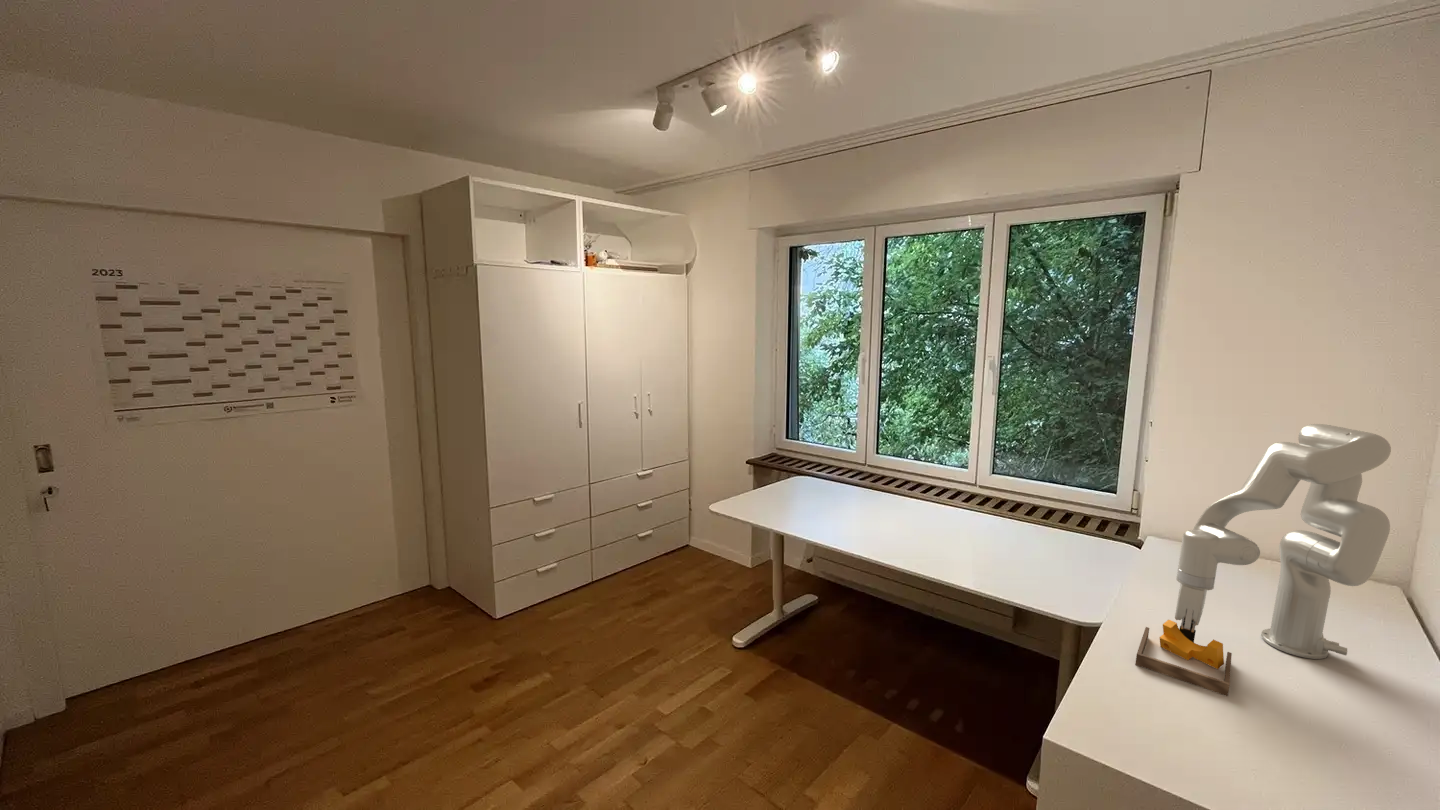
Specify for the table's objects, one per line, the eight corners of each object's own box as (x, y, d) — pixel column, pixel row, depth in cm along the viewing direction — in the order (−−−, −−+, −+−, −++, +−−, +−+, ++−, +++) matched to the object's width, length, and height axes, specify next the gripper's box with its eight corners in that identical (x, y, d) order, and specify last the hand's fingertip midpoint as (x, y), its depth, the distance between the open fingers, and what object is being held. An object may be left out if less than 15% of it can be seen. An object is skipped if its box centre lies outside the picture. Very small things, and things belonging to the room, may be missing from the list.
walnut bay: (1229, 663, 144) (1231, 652, 143) (1227, 696, 132) (1229, 684, 131) (1144, 636, 156) (1145, 626, 155) (1135, 664, 143) (1136, 653, 143)
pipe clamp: (1160, 646, 151) (1158, 627, 149) (1170, 638, 152) (1168, 619, 150) (1213, 673, 140) (1212, 652, 138) (1223, 663, 141) (1222, 643, 140)
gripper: (1180, 564, 155) (1171, 626, 158) (1173, 583, 144) (1164, 648, 147) (1216, 573, 150) (1206, 636, 153) (1212, 593, 139) (1201, 661, 142)
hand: (1185, 642), depth 150 cm, fingers closed
